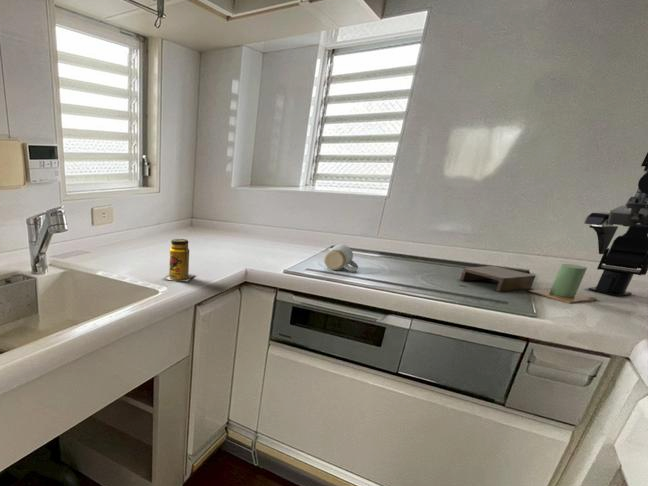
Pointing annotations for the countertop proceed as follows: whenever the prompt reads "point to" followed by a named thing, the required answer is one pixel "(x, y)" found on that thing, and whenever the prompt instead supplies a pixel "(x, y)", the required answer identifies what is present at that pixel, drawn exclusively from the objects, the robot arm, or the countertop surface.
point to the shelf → (499, 277)
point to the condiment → (179, 261)
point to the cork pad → (566, 299)
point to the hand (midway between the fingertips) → (623, 257)
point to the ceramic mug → (340, 258)
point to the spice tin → (568, 280)
